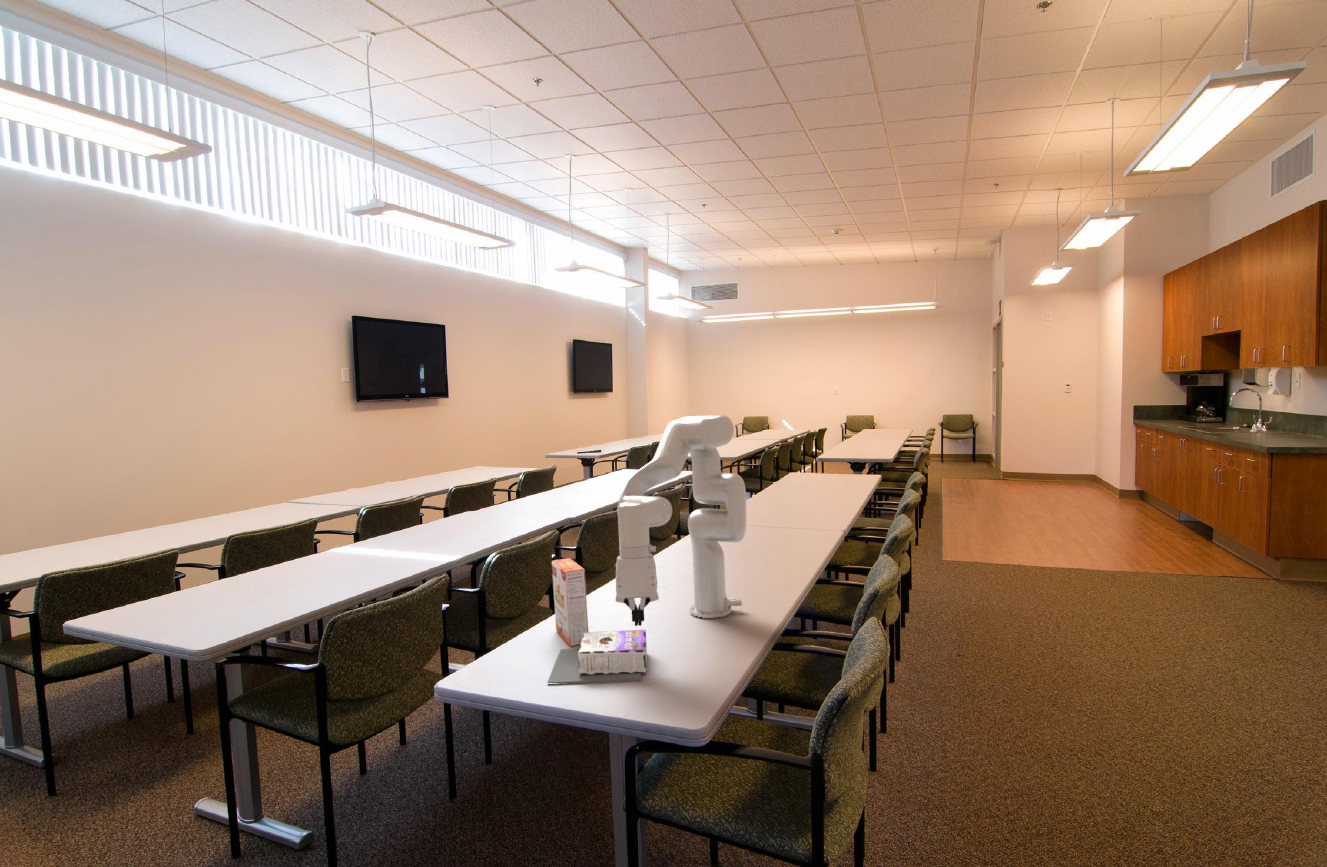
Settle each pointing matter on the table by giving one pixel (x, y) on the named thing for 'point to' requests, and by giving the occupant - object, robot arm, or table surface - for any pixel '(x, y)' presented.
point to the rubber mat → (569, 673)
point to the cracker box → (570, 600)
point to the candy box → (613, 652)
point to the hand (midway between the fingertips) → (638, 623)
